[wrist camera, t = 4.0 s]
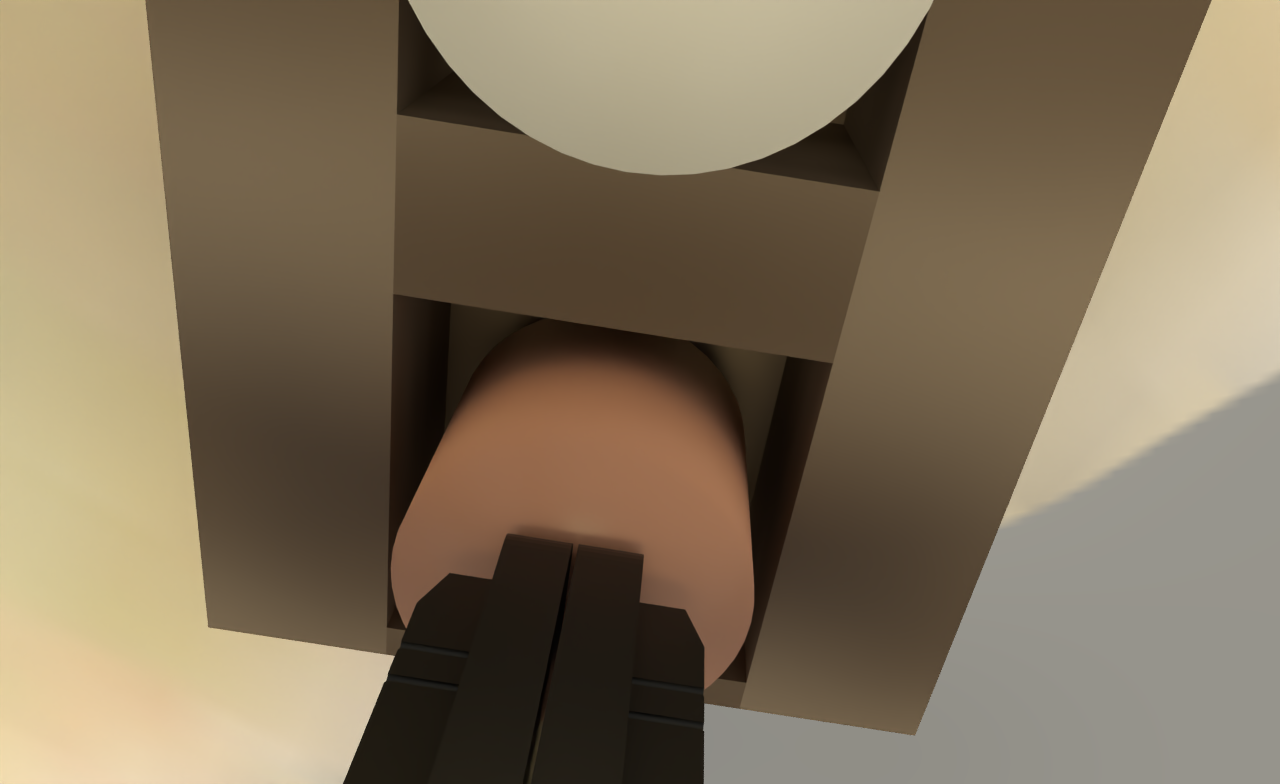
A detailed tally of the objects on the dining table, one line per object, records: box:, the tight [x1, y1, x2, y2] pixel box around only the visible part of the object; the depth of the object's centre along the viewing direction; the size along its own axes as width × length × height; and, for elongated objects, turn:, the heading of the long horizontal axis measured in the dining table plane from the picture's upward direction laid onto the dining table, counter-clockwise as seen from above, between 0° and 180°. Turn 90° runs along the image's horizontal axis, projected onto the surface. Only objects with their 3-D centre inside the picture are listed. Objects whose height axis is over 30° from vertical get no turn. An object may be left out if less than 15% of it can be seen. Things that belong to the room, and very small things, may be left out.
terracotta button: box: [391, 318, 754, 690], centre depth 12 cm, size 4×4×3 cm
